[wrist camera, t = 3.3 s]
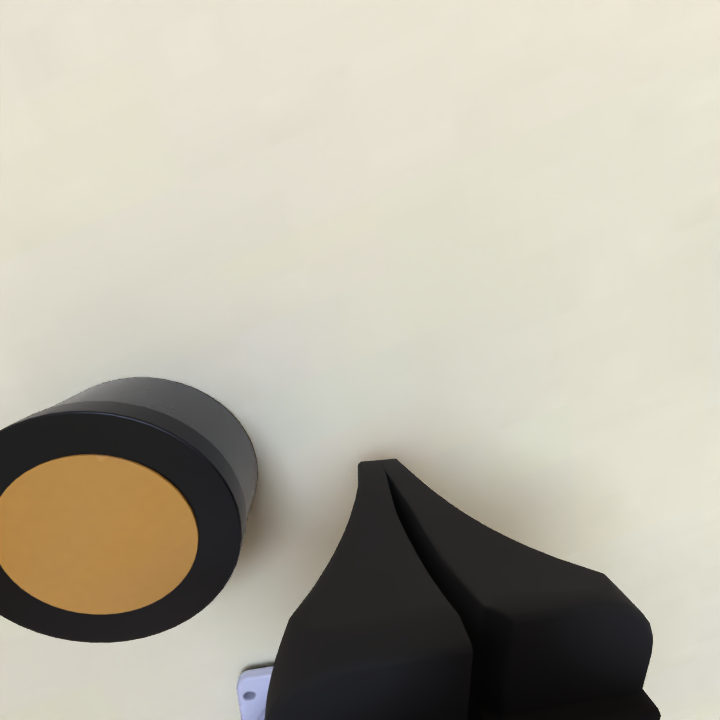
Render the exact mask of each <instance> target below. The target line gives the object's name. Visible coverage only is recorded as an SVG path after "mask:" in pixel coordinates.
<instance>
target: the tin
mask: <svg viewBox="0 0 720 720" xmlns="http://www.w3.org/2000/svg"><path fill="white" fill-rule="evenodd" d="M256 485H257V463H256V457H255V453H254V450H253V447H252V444H251V442H250V440H249V438H248V436H247V434H246V432H245V430H244V429H243V428H242V426H241V425H240V423H239V422H238V421H237V419H236V418H235V417H234V416H233V415H232V414H231V413H230V412H229V411H228V410H227V409H226V408H225V407H223V406H222V405H221V404H220V403H219V402H217V401H216V400H214V399H213V398H211V397H210V396H208V395H206V394H204V393H202V392H200V391H198V390H196V389H194V388H192V387H189V386H186V385H184V384H181V383H177V382H173V381H169V380H165V379H157V378H138V377H134V378H125V379H117V380H113V381H109V382H105V383H102V384H99V385H96V386H94V387H91V388H89V389H87V390H85V391H83V392H81V393H79V394H77V395H75V396H73V397H71V398H69V399H67V400H64V401H62V402H60V403H58V404H56V405H54V406H52V407H50V408H48V409H45V410H43V411H40V412H37V413H35V414H32V415H30V416H28V417H26V418H24V419H22V420H20V421H18V422H15V423H13V424H11V425H9V426H7V427H6V428H4V429H2V430H0V615H1V616H3V617H4V618H6V619H8V620H10V621H12V622H14V623H16V624H18V625H20V626H22V627H25V628H27V629H30V630H32V631H35V632H37V633H41V634H44V635H48V636H51V637H55V638H60V639H65V640H71V641H79V642H90V643H110V642H121V641H129V640H135V639H140V638H145V637H148V636H151V635H155V634H158V633H161V632H164V631H166V630H168V629H171V628H173V627H176V626H177V625H179V624H181V623H183V622H185V621H187V620H189V619H190V618H192V617H193V616H194V615H196V614H197V613H199V612H200V611H202V610H203V609H204V608H205V607H206V606H207V605H208V604H209V603H211V602H212V601H213V600H214V599H215V597H216V596H217V595H218V594H219V593H220V592H221V590H222V589H223V588H224V586H225V585H226V583H227V582H228V580H229V579H230V577H231V575H232V573H233V571H234V569H235V566H236V564H237V561H238V557H239V554H240V550H241V547H242V543H243V539H244V536H245V530H246V523H247V519H248V515H249V512H250V508H251V505H252V501H253V498H254V494H255V490H256Z"/></svg>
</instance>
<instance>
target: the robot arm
mask: <svg viewBox="0 0 720 720" xmlns="http://www.w3.org/2000/svg"><path fill="white" fill-rule="evenodd" d="M652 645H653V635H652V631H651V626H650V623H649V621H648V620H647V619H646V617H645V616H644V615H643V613H642V612H641V611H640V610H639V609H638V608H637V607H636V606H635V605H634V604H633V603H632V602H631V601H630V600H629V599H628V598H627V597H626V596H625V595H624V594H623V593H622V592H621V591H620V589H619V588H618V587H617V586H616V585H615V584H614V583H613V582H612V581H611V580H610V579H609V578H608V577H607V576H606V575H605V574H603V573H600V572H597V571H594V570H591V569H588V568H585V567H582V566H579V565H576V564H573V563H570V562H567V561H564V560H561V559H558V558H555V557H553V556H550V555H548V554H545V553H543V552H540V551H538V550H535V549H533V548H530V547H528V546H526V545H523V544H521V543H519V542H517V541H515V540H512V539H510V538H508V537H506V536H504V535H502V534H500V533H498V532H496V531H494V530H492V529H491V528H489V527H487V526H485V525H483V524H481V523H480V522H478V521H476V520H475V519H473V518H472V517H470V516H468V515H467V514H465V513H463V512H462V511H460V510H459V509H457V508H456V507H454V506H453V505H451V504H450V503H449V502H447V501H446V500H445V499H443V498H442V497H440V496H439V495H438V494H437V493H435V492H434V491H433V490H431V489H430V488H429V487H428V486H427V485H425V484H424V483H423V482H422V481H421V480H419V479H418V478H417V477H416V476H415V475H414V474H413V473H411V472H410V471H409V470H408V469H407V468H406V467H405V466H404V465H403V464H402V463H400V462H399V461H398V460H397V459H387V460H375V461H363V462H360V463H359V464H358V489H357V494H356V499H355V502H354V506H353V509H352V512H351V515H350V518H349V521H348V524H347V526H346V529H345V531H344V534H343V536H342V538H341V540H340V542H339V544H338V546H337V548H336V550H335V552H334V554H333V556H332V558H331V560H330V562H329V563H328V565H327V567H326V568H325V570H324V571H323V573H322V575H321V576H320V578H319V579H318V581H317V582H316V584H315V586H314V587H313V588H312V590H311V591H310V593H309V594H308V595H307V597H306V598H305V599H304V600H303V602H302V603H301V604H300V606H299V607H298V608H297V609H296V611H295V612H294V613H293V615H292V616H291V617H290V619H289V621H288V624H287V627H286V629H285V632H284V635H283V638H282V641H281V644H280V647H279V650H278V653H277V656H276V659H275V663H274V666H271V667H264V668H258V669H251V670H247V671H244V672H243V673H241V674H240V676H239V678H238V683H237V693H238V700H239V707H240V714H241V720H660V717H661V715H660V712H659V710H658V708H657V707H656V705H655V704H654V703H653V702H652V700H651V699H650V698H649V697H648V695H647V694H646V693H645V692H644V690H643V689H642V688H643V684H644V680H645V677H646V673H647V669H648V665H649V661H650V658H651V654H652Z"/></svg>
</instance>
